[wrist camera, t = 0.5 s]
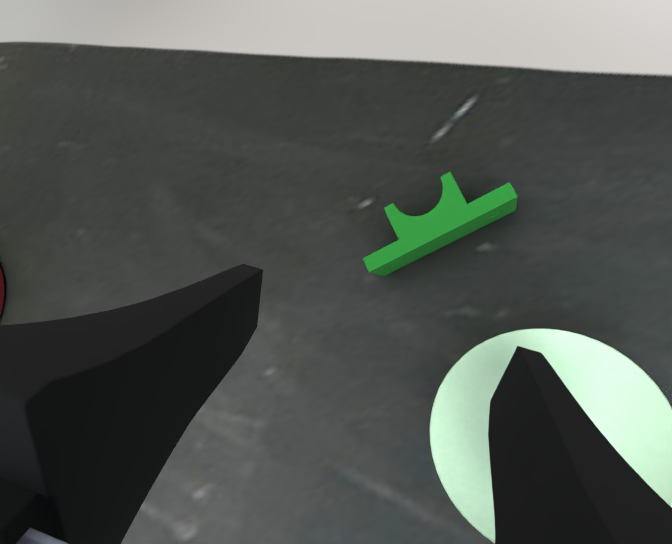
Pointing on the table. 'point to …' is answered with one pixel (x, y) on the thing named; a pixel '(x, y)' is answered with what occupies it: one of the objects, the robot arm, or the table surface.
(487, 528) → the pot lid
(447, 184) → the pipe clamp
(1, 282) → the kitchen canister
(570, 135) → the table surface
